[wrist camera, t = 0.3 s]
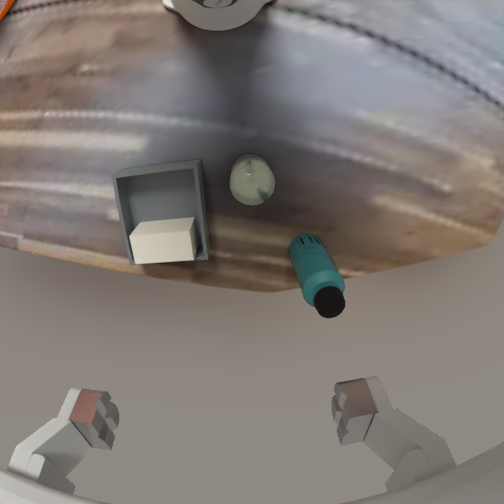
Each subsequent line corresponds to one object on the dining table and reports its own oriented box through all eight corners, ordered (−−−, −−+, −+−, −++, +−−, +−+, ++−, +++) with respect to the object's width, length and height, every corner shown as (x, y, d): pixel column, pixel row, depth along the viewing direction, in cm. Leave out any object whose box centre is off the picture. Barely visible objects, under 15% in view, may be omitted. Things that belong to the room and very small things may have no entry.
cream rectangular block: (140, 222, 53) (129, 236, 47) (194, 217, 53) (189, 230, 47) (145, 247, 55) (135, 264, 49) (198, 243, 55) (193, 260, 50)
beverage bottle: (296, 267, 59) (320, 335, 41) (279, 239, 57) (299, 302, 39) (326, 250, 58) (362, 313, 40) (311, 222, 56) (345, 277, 37)
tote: (122, 169, 50) (112, 175, 45) (200, 159, 50) (196, 163, 45) (137, 252, 57) (130, 264, 52) (210, 247, 57) (208, 259, 52)
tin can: (229, 155, 50) (227, 163, 42) (268, 152, 50) (274, 160, 42) (232, 192, 53) (231, 206, 45) (270, 189, 53) (275, 203, 45)
